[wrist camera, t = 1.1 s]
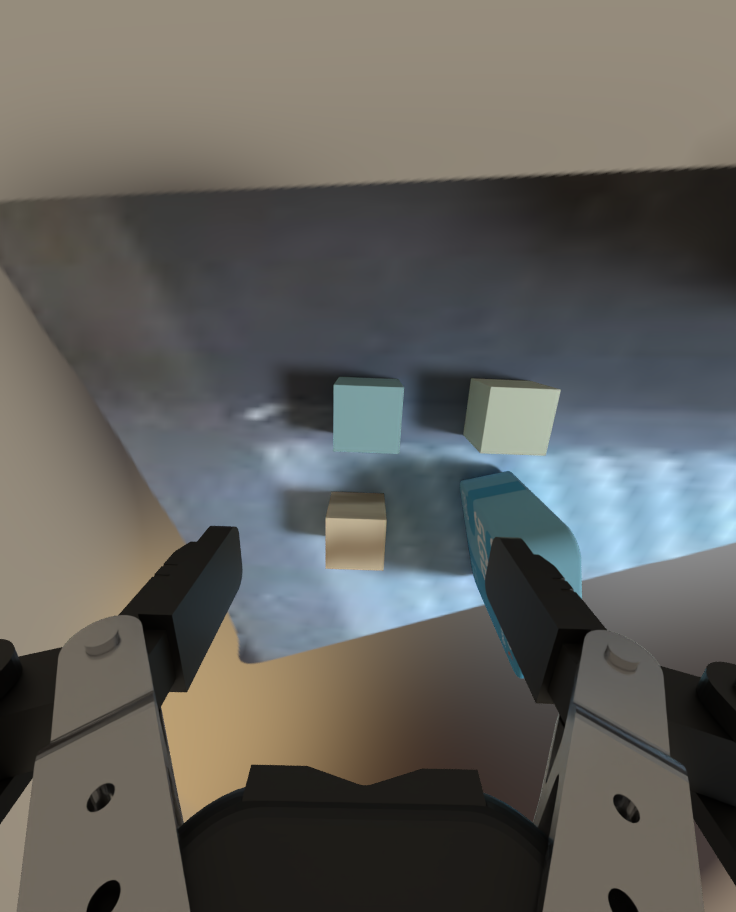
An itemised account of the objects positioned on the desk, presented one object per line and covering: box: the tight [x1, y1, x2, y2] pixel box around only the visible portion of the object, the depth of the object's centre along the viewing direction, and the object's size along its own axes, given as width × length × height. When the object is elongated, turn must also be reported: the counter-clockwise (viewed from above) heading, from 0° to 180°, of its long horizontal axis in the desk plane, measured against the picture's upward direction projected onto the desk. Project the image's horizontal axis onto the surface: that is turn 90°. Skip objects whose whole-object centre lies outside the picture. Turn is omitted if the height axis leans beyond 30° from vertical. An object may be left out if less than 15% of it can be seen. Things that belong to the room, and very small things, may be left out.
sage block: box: [463, 378, 561, 456], centre depth 27 cm, size 5×5×5 cm
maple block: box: [326, 492, 387, 571], centre depth 31 cm, size 5×5×5 cm
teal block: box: [333, 377, 404, 454], centre depth 27 cm, size 5×5×5 cm
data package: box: [460, 471, 582, 678], centre depth 28 cm, size 12×4×12 cm, turn 13°
